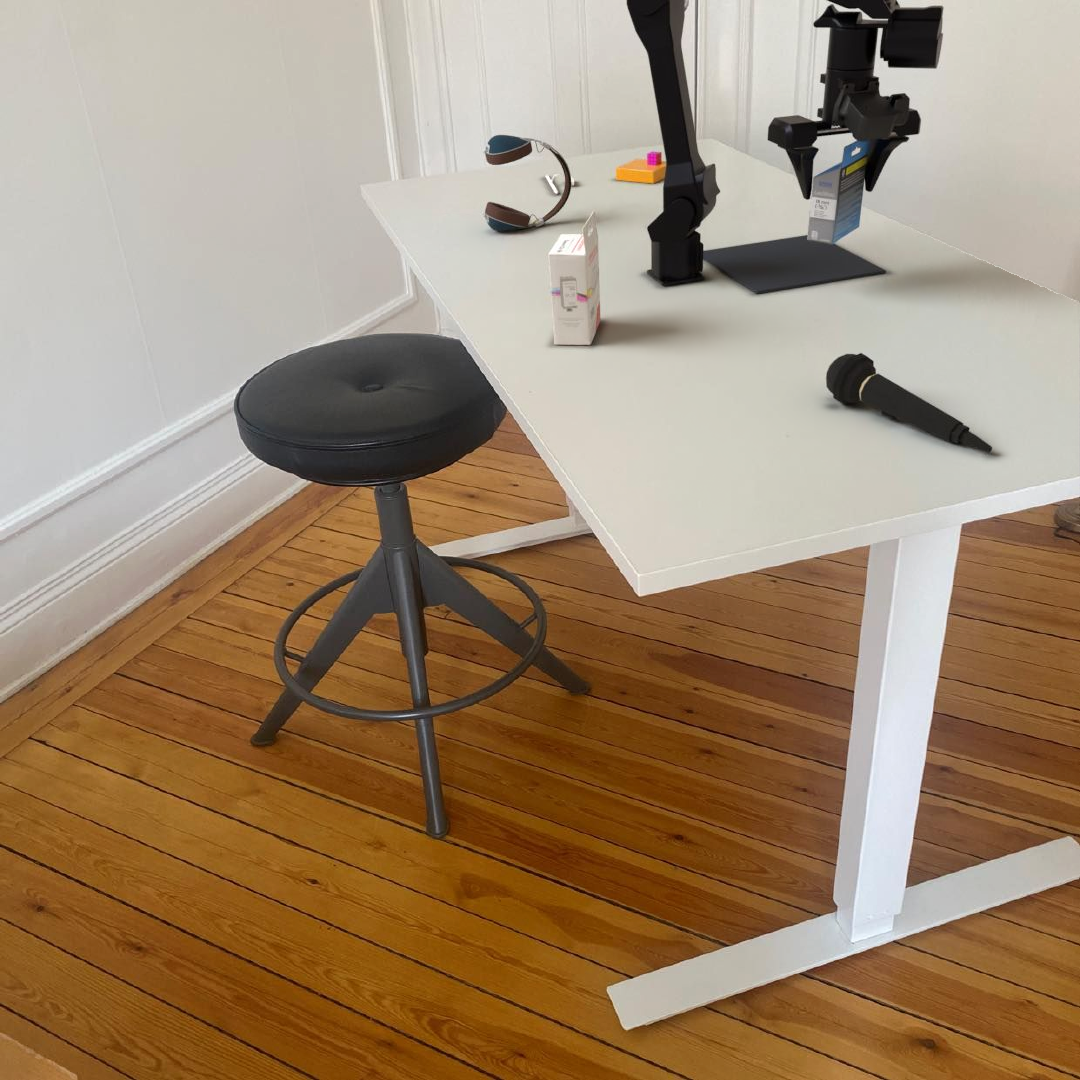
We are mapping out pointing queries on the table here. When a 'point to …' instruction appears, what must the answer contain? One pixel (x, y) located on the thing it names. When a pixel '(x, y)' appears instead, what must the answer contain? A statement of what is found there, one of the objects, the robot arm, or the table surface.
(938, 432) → the microphone
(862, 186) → the blue epson carton
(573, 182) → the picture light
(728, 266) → the desk mat
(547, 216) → the headphones
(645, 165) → the orange and magenta block
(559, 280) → the ink cartridge box
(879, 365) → the table surface
